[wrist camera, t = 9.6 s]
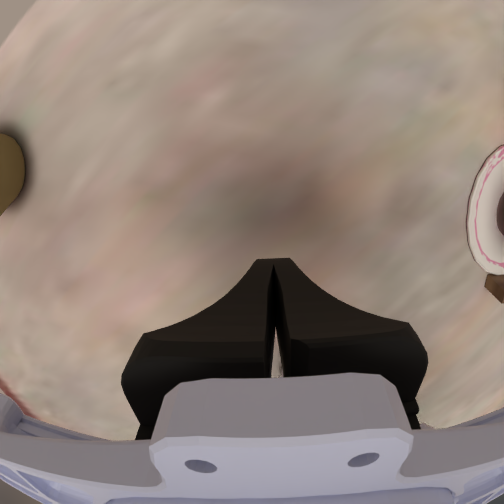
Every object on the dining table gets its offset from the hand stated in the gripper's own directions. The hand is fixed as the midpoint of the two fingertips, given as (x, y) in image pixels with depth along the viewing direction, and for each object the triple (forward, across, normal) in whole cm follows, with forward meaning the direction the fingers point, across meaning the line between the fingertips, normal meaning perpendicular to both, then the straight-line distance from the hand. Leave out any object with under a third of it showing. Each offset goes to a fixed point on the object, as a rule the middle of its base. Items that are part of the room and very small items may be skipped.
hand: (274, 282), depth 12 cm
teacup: (+10, -21, 0) cm, 23 cm away
